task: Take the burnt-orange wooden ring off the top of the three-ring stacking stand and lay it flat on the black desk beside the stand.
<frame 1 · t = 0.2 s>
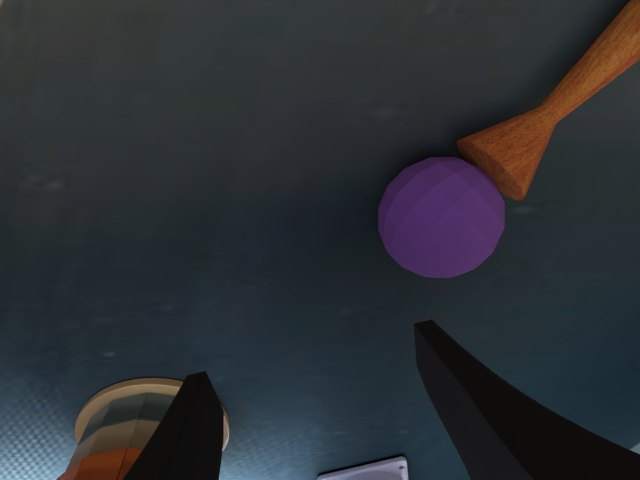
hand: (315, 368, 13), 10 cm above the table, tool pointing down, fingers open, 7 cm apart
ring stand: (156, 428, 28), on the table
purple maraca: (518, 102, 20), on the table
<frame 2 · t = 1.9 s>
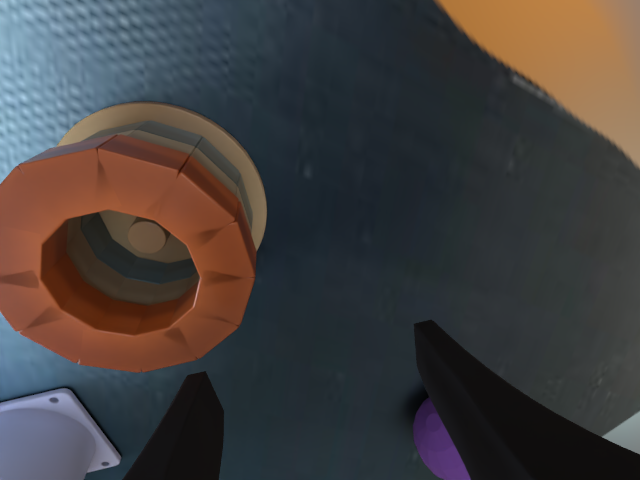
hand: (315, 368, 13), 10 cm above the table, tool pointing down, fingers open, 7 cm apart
ring stand: (164, 207, 19), on the table
top ring: (138, 251, 15), point 5 cm above the table, touching ring stand
purple maraca: (486, 431, 33), on the table
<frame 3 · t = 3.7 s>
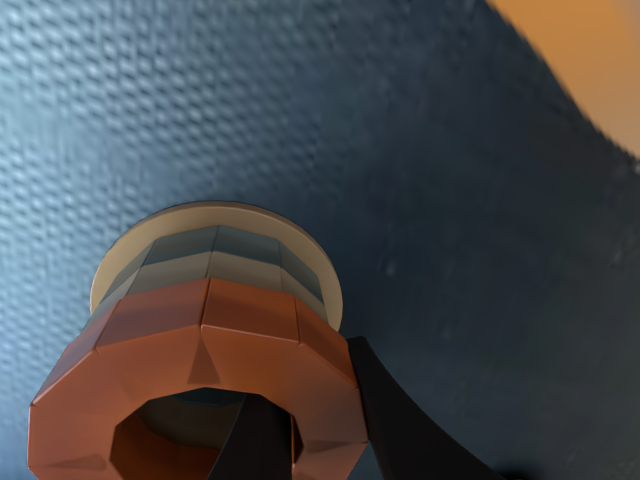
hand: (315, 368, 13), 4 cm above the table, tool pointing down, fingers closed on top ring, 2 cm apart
ring stand: (224, 310, 17), on the table
top ring: (217, 396, 13), point 5 cm above the table, touching gripper
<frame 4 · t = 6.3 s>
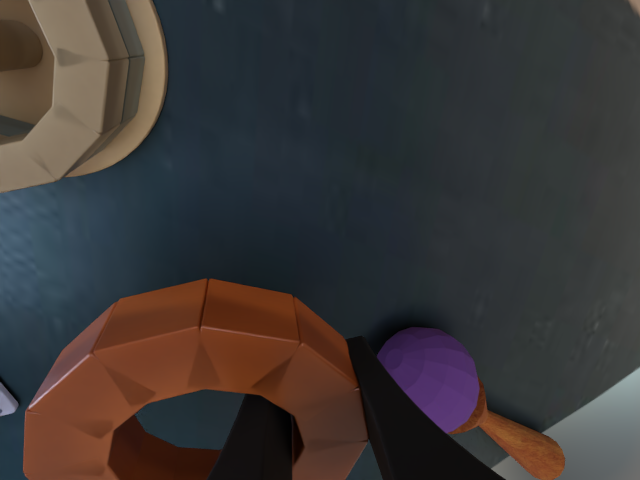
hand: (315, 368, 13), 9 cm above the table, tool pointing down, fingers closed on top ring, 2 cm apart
ring stand: (27, 44, 15), on the table
top ring: (215, 397, 13), point 9 cm above the table, touching gripper
purple maraca: (464, 386, 28), on the table
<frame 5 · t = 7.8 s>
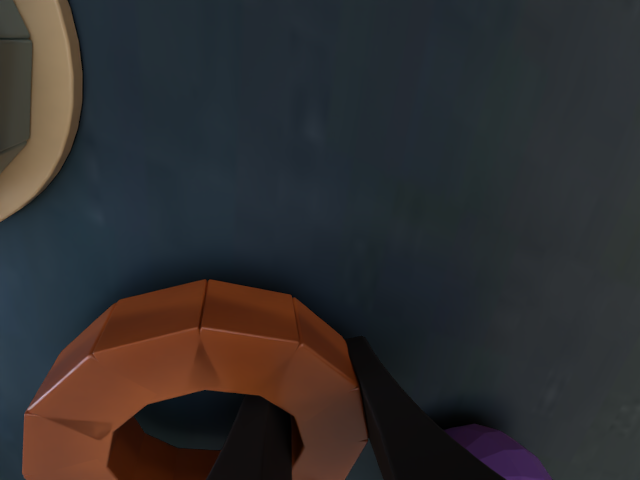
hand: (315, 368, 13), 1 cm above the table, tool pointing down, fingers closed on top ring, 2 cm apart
top ring: (215, 398, 13), point 2 cm above the table, touching gripper
when the fingers open (0 cm above the table, at t = 9.0 s): top ring stays where it is, on the table.
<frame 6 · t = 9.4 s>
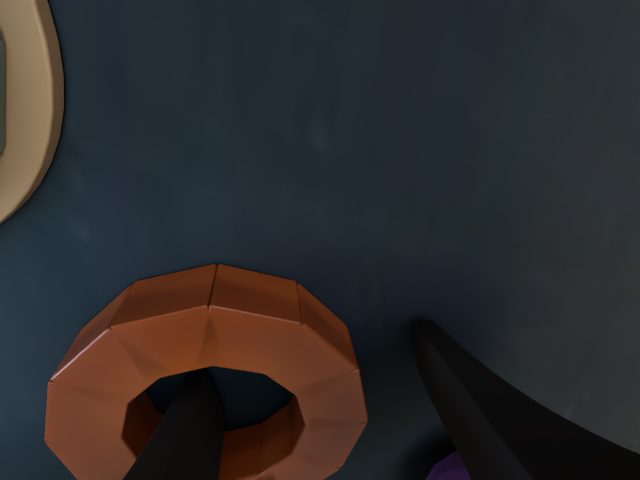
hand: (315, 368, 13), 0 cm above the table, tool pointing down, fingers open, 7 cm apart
top ring: (222, 379, 13), on the table
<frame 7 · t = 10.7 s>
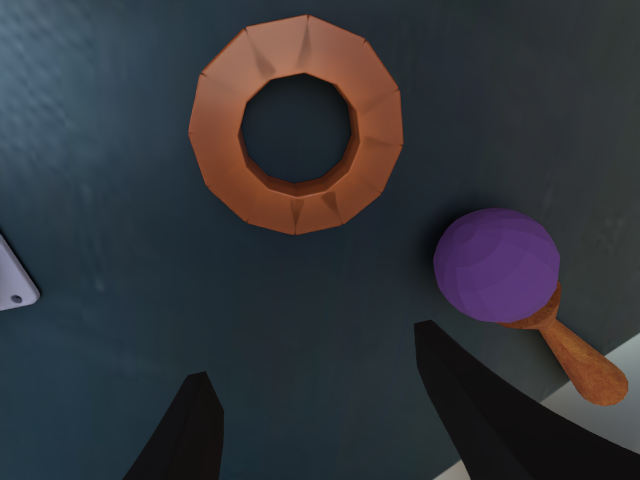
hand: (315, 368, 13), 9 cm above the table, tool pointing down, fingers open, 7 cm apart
top ring: (297, 130, 18), on the table
purple maraca: (521, 298, 26), on the table
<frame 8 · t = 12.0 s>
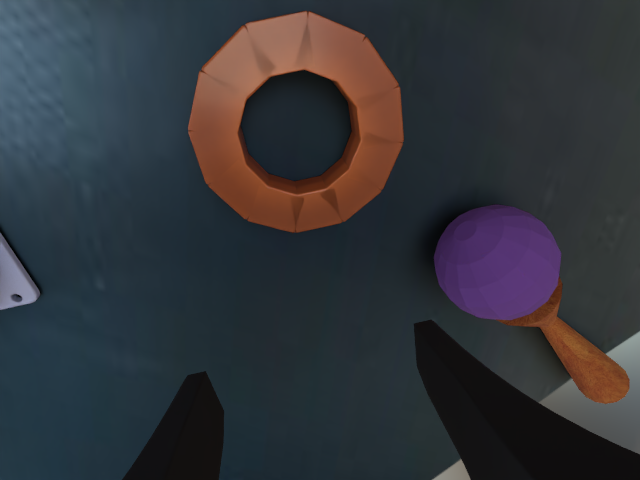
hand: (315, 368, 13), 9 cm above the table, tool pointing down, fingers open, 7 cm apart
top ring: (297, 127, 18), on the table
purple maraca: (522, 295, 26), on the table
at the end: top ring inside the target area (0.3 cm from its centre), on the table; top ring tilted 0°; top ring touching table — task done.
